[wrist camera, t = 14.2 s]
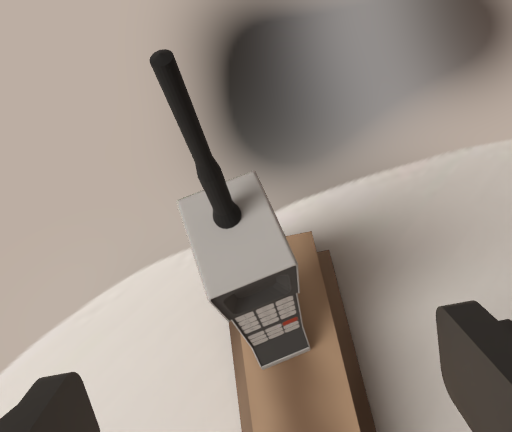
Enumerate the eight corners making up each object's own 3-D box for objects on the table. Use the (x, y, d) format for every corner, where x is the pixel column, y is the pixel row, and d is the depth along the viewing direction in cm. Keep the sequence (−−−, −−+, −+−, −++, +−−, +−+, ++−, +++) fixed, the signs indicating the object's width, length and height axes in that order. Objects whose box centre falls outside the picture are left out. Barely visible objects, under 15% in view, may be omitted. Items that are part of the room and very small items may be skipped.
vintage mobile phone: (262, 371, 30) (107, 176, 9) (240, 308, 33) (75, 32, 11) (311, 351, 31) (277, 111, 9) (284, 289, 33) (208, -16, 11)
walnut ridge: (328, 256, 40) (329, 227, 35) (402, 543, 29) (419, 563, 24) (226, 276, 41) (211, 251, 36) (261, 566, 30) (247, 590, 25)
